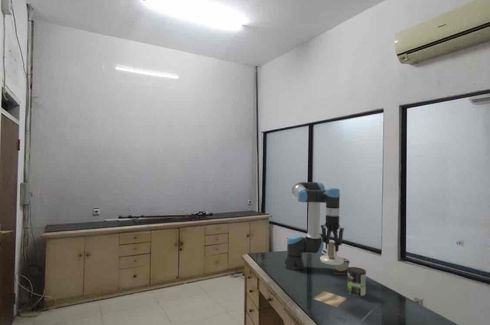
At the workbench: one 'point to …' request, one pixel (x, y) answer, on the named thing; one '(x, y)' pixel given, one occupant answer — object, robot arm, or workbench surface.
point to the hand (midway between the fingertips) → (331, 256)
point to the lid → (331, 257)
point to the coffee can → (356, 281)
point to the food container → (342, 267)
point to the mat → (330, 298)
